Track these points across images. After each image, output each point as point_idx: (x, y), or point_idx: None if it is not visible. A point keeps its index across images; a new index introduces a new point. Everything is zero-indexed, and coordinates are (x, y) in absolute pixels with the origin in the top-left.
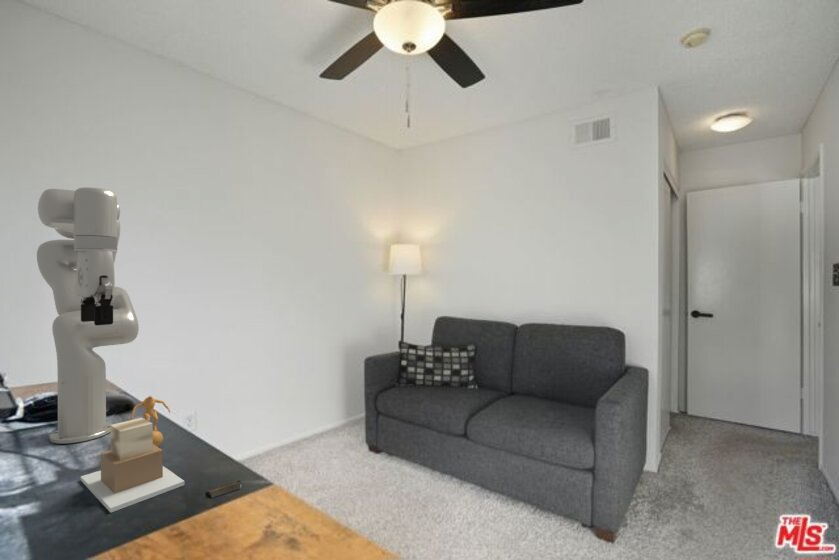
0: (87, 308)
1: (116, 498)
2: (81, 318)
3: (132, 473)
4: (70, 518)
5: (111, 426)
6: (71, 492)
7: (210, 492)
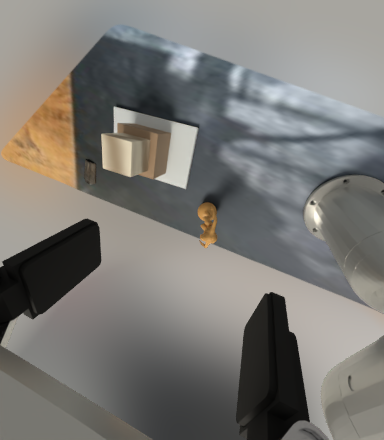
0: (256, 370)
1: (126, 119)
2: (273, 302)
3: None
4: (131, 82)
5: (129, 141)
6: (180, 108)
7: (87, 162)
